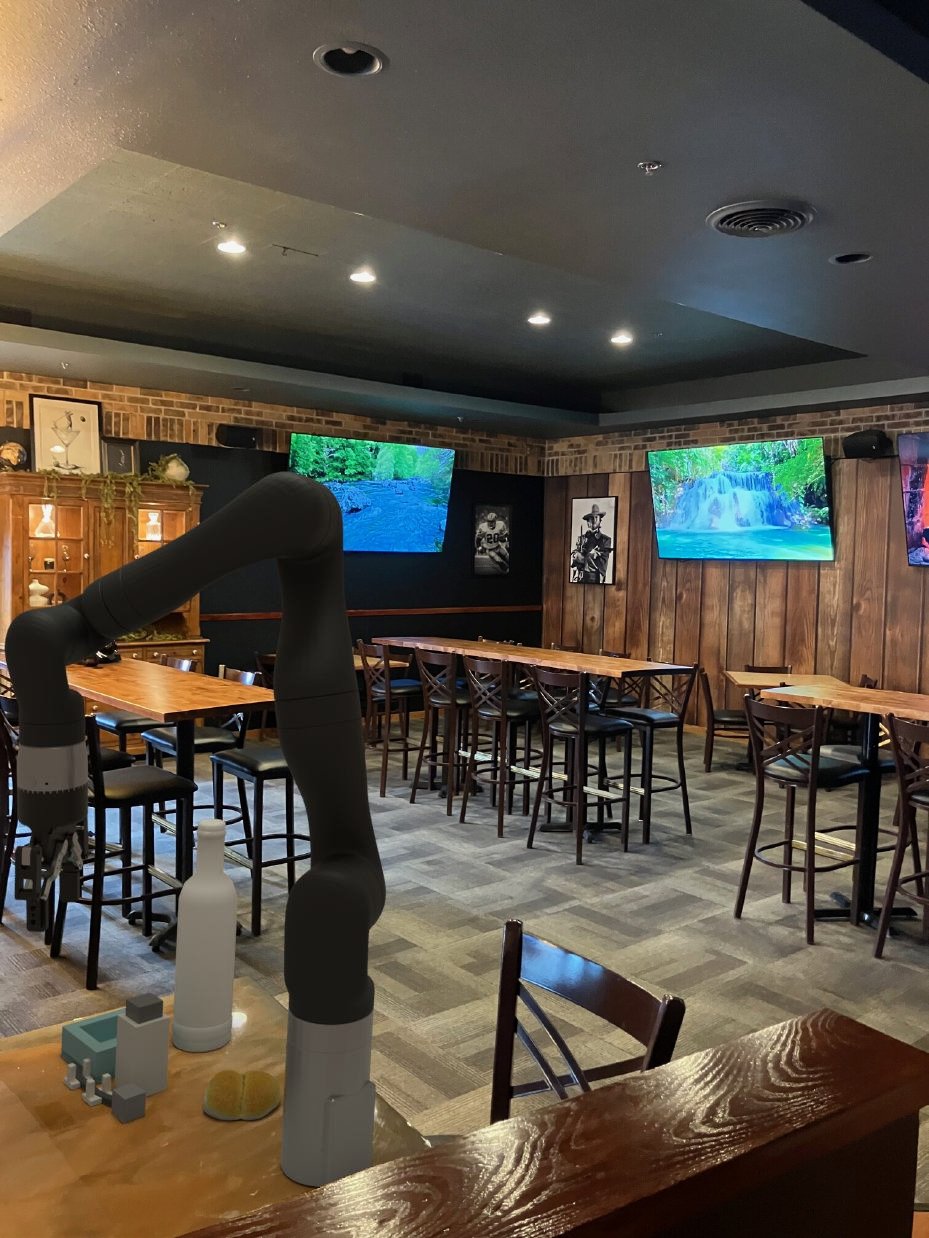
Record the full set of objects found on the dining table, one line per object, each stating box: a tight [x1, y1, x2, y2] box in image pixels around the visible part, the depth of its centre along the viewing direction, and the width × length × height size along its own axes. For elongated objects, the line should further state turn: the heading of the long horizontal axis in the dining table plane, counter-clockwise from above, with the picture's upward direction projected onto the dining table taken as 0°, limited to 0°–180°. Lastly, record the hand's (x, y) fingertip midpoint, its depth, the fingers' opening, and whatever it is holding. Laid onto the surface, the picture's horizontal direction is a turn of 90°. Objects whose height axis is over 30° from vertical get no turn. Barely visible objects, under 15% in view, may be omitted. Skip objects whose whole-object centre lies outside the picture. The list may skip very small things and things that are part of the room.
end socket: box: [60, 1007, 126, 1086], centre depth 127 cm, size 10×10×4 cm
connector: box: [114, 992, 171, 1097], centre depth 120 cm, size 4×4×11 cm
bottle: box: [171, 818, 239, 1053], centre depth 133 cm, size 8×8×30 cm
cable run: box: [62, 1058, 147, 1124], centre depth 118 cm, size 14×4×3 cm, turn 47°
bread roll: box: [202, 1069, 281, 1121], centre depth 118 cm, size 8×9×4 cm
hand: (54, 915), depth 114 cm, fingers open, 8 cm apart
